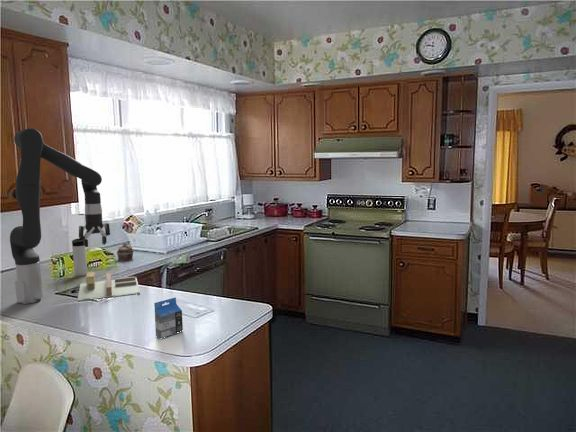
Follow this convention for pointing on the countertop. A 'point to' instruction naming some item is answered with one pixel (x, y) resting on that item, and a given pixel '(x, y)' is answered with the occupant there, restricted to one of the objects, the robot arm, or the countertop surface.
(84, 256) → the travel mug
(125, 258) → the cupcake
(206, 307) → the countertop surface
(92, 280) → the bar
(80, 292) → the door board
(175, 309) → the label tape cartridge
